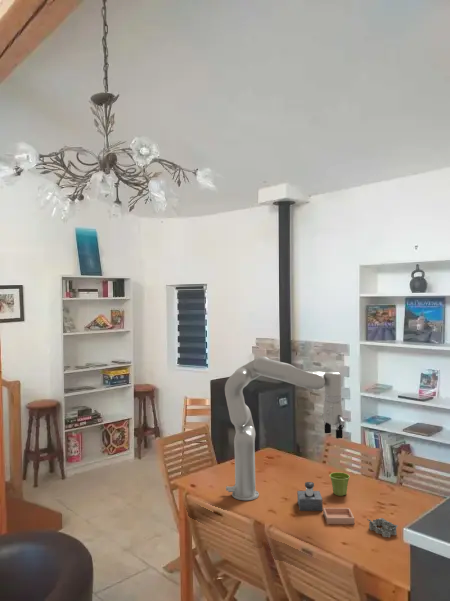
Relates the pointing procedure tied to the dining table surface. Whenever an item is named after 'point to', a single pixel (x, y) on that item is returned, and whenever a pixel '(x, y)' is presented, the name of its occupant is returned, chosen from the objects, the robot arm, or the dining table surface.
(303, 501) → the socket block
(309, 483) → the pin
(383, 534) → the egg carton
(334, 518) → the tray
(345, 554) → the dining table surface
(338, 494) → the plant pot
